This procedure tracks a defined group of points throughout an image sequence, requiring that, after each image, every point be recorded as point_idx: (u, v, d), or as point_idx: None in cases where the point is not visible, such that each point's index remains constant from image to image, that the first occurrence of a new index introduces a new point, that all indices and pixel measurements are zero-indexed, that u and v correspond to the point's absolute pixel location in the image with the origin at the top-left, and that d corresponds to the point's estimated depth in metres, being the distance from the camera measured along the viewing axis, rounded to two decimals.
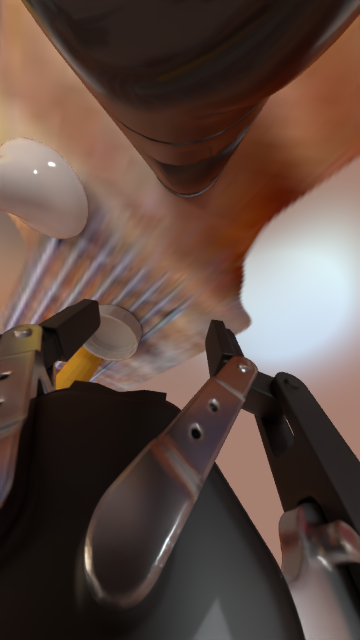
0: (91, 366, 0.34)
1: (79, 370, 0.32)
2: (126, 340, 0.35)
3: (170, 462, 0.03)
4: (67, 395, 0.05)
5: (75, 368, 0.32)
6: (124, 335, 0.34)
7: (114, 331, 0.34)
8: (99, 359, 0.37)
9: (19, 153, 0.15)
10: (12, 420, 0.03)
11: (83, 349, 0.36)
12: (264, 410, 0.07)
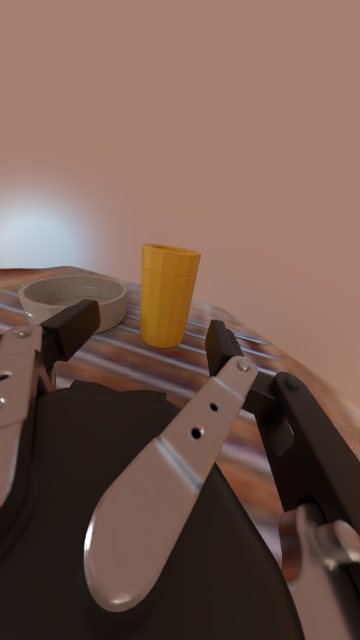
0: None
1: None
2: None
3: (170, 462, 0.03)
4: (67, 395, 0.05)
5: (141, 288, 0.18)
6: None
7: None
8: None
9: None
10: (12, 420, 0.03)
11: (141, 331, 0.19)
12: (264, 410, 0.07)
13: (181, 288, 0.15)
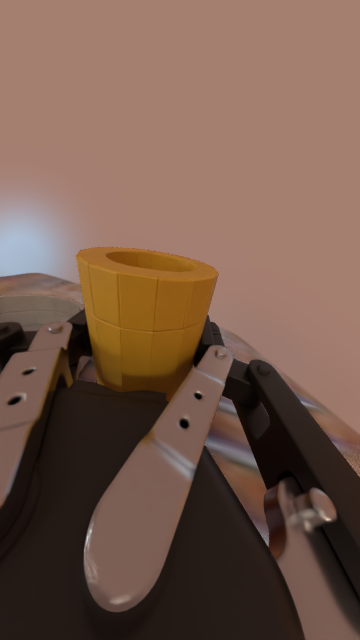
0: None
1: None
2: None
3: (170, 462, 0.03)
4: (67, 395, 0.05)
5: None
6: None
7: None
8: None
9: None
10: (25, 418, 0.03)
11: None
12: (239, 394, 0.07)
13: (173, 353, 0.07)
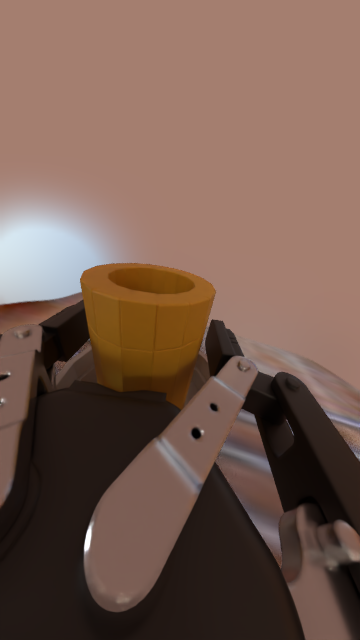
0: None
1: None
2: None
3: (170, 462, 0.03)
4: (67, 395, 0.05)
5: None
6: None
7: None
8: None
9: None
10: (12, 420, 0.03)
11: None
12: (264, 410, 0.07)
13: (172, 369, 0.07)
